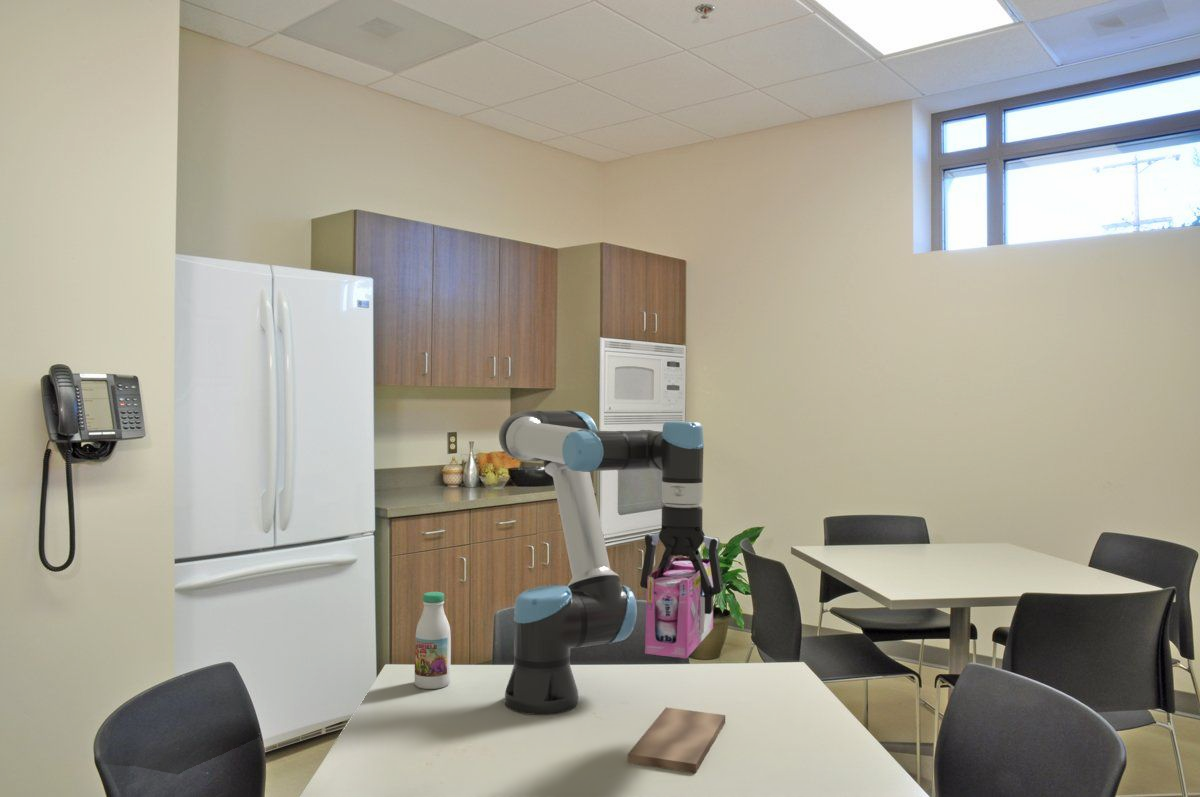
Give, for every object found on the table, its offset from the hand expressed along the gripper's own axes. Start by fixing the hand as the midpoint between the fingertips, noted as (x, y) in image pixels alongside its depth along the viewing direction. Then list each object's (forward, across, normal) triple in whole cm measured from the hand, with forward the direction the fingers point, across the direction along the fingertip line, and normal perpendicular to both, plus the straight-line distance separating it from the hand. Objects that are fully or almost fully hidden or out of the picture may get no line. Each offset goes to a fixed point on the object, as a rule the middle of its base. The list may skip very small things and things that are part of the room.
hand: (680, 628), depth 159 cm
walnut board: (+21, 0, 0) cm, 21 cm away
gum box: (+2, 0, 0) cm, 3 cm away
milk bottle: (+21, -59, +12) cm, 64 cm away
